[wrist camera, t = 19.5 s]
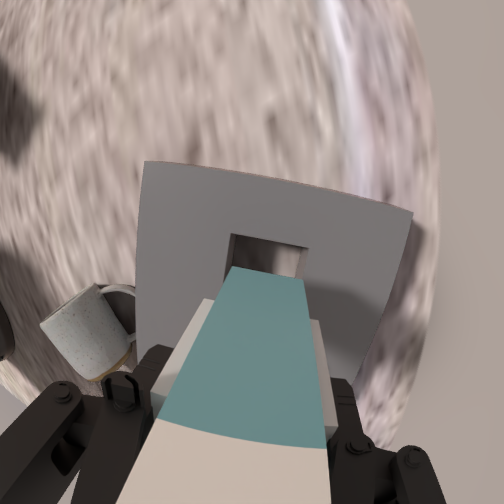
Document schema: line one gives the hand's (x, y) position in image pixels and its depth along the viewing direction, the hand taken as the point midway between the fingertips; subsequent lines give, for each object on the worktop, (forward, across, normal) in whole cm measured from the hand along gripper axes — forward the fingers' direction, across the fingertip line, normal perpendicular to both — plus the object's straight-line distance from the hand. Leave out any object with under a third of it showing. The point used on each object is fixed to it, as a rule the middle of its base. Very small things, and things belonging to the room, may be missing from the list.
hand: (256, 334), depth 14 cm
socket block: (+12, 0, +3) cm, 12 cm away
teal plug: (+3, 0, 0) cm, 3 cm away
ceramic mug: (+12, +15, +9) cm, 22 cm away
